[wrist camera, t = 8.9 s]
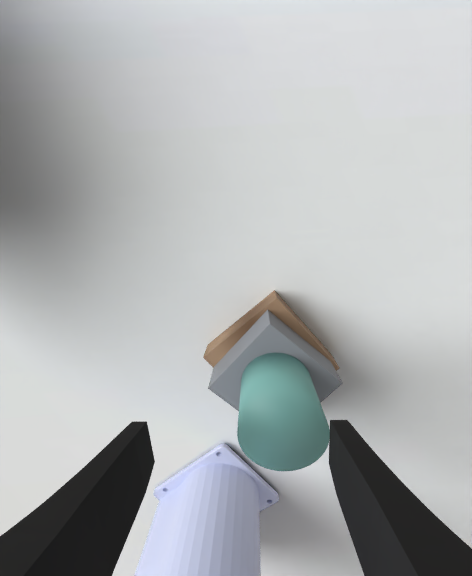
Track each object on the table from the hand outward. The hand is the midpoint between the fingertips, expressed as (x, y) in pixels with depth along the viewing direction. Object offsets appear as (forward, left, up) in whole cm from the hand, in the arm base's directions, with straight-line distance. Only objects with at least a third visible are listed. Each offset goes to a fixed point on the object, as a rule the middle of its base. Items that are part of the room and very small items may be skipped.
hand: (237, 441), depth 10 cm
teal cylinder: (0, -3, -6) cm, 7 cm away
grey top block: (0, -3, -9) cm, 9 cm away
